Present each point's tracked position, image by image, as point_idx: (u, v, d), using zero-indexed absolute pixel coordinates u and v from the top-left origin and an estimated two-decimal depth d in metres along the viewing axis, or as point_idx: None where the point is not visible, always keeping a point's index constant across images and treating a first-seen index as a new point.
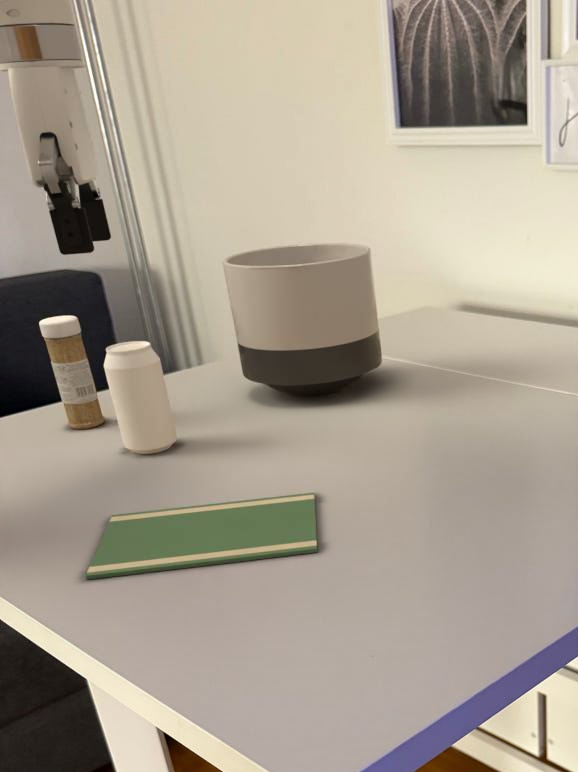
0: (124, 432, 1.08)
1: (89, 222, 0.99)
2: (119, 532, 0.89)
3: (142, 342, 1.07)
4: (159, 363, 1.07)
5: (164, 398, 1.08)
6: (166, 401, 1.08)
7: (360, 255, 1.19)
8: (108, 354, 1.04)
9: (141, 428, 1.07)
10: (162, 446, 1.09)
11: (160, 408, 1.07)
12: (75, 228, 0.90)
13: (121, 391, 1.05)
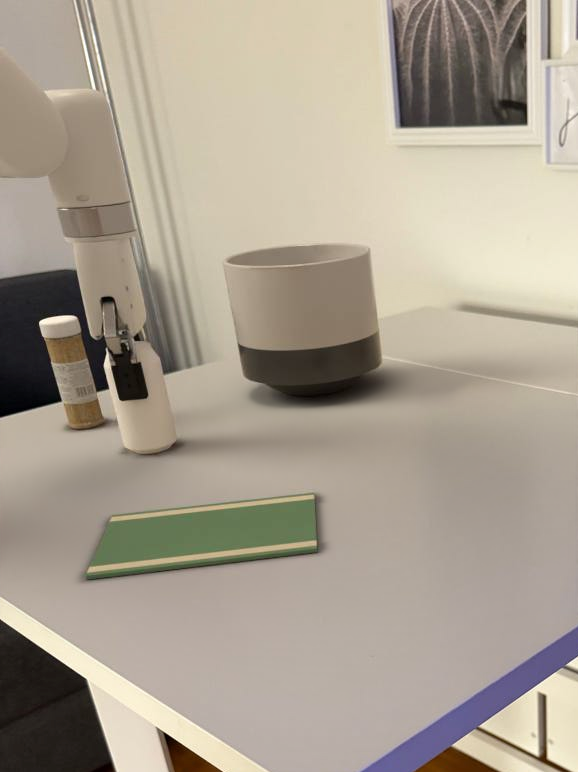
0: (124, 432, 1.08)
1: None
2: (119, 532, 0.89)
3: (142, 342, 1.07)
4: (159, 363, 1.07)
5: (164, 398, 1.08)
6: (167, 401, 1.08)
7: (360, 255, 1.19)
8: (108, 354, 1.04)
9: (141, 428, 1.07)
10: (162, 446, 1.09)
11: (160, 409, 1.07)
12: (133, 380, 1.03)
13: None
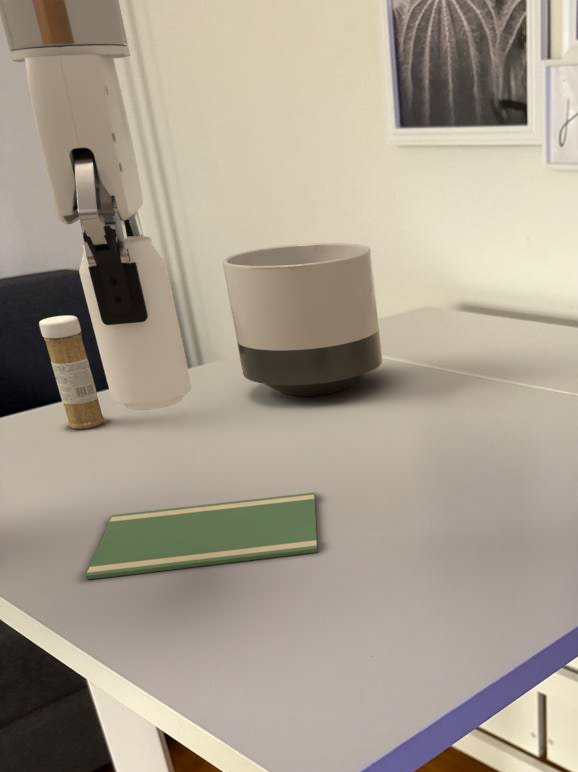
0: (112, 376, 0.71)
1: None
2: (119, 532, 0.89)
3: (138, 238, 0.70)
4: (165, 269, 0.70)
5: (173, 323, 0.71)
6: (176, 328, 0.71)
7: (360, 255, 1.19)
8: None
9: (139, 370, 0.70)
10: (170, 398, 0.72)
11: (166, 339, 0.70)
12: (124, 290, 0.66)
13: None
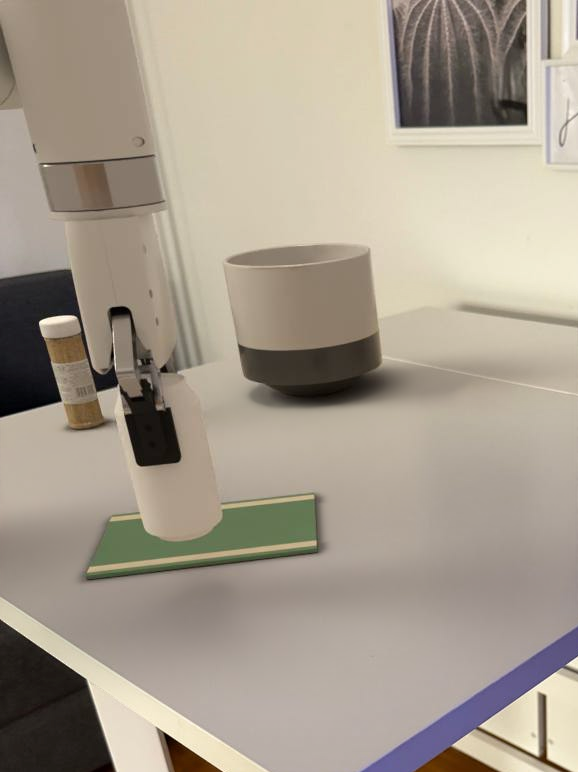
0: (145, 511, 0.71)
1: None
2: (119, 532, 0.89)
3: (172, 374, 0.71)
4: (199, 407, 0.70)
5: (206, 458, 0.71)
6: (209, 462, 0.72)
7: (360, 255, 1.19)
8: None
9: (171, 506, 0.71)
10: (202, 530, 0.73)
11: (199, 475, 0.71)
12: (158, 436, 0.66)
13: None
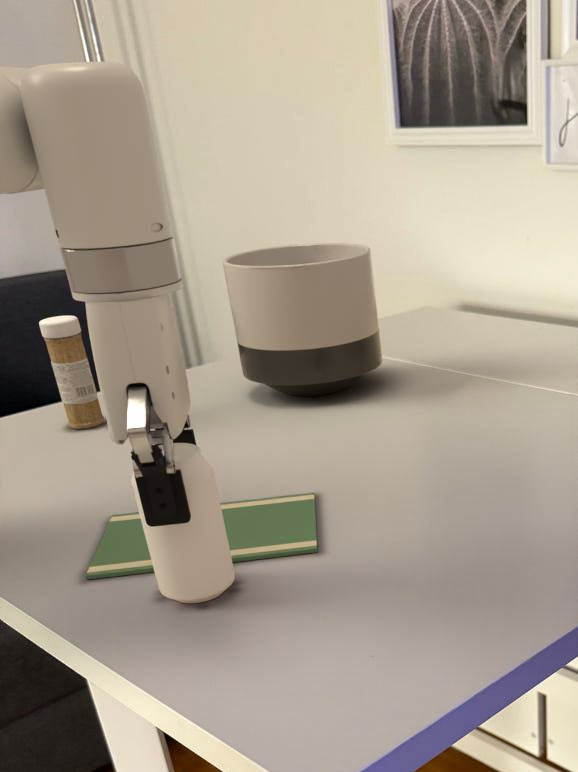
0: (160, 575, 0.74)
1: None
2: (119, 532, 0.89)
3: (187, 445, 0.73)
4: (212, 476, 0.73)
5: (219, 525, 0.74)
6: (222, 528, 0.75)
7: (360, 255, 1.19)
8: None
9: (186, 571, 0.73)
10: (215, 593, 0.75)
11: (213, 542, 0.74)
12: (169, 498, 0.67)
13: None
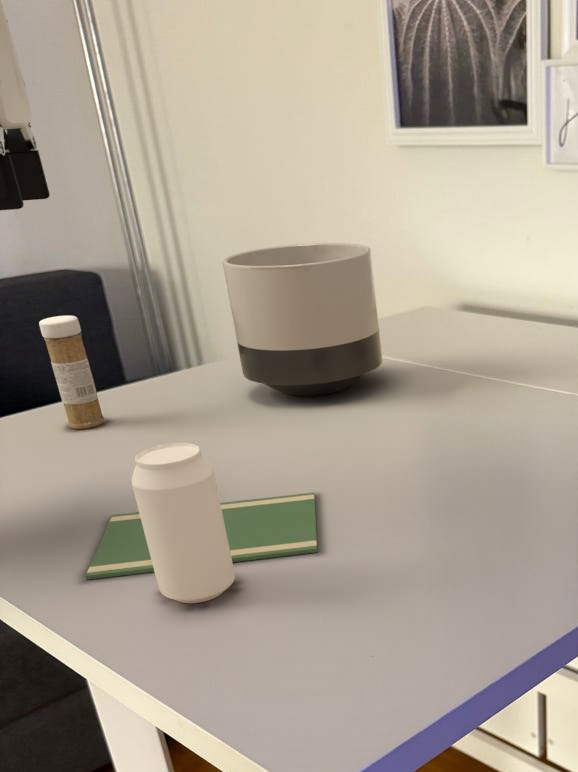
0: (160, 575, 0.74)
1: (23, 177, 0.85)
2: (119, 532, 0.89)
3: (187, 445, 0.73)
4: (213, 476, 0.73)
5: (219, 525, 0.74)
6: (222, 528, 0.75)
7: (360, 255, 1.19)
8: (139, 467, 0.70)
9: (186, 571, 0.73)
10: (215, 593, 0.75)
11: (213, 542, 0.74)
12: None
13: (158, 520, 0.71)
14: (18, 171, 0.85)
